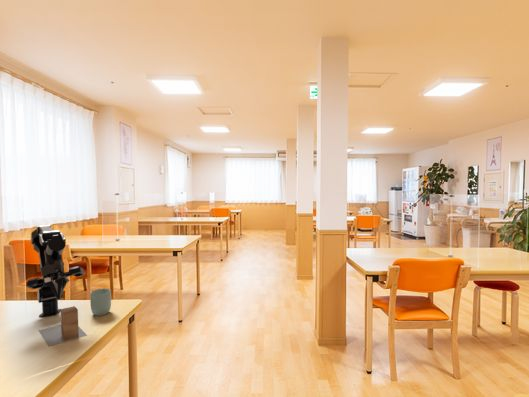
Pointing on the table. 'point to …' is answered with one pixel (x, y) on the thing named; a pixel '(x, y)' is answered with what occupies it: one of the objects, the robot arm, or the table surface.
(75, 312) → the block
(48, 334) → the mat
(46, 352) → the table surface
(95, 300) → the cup
